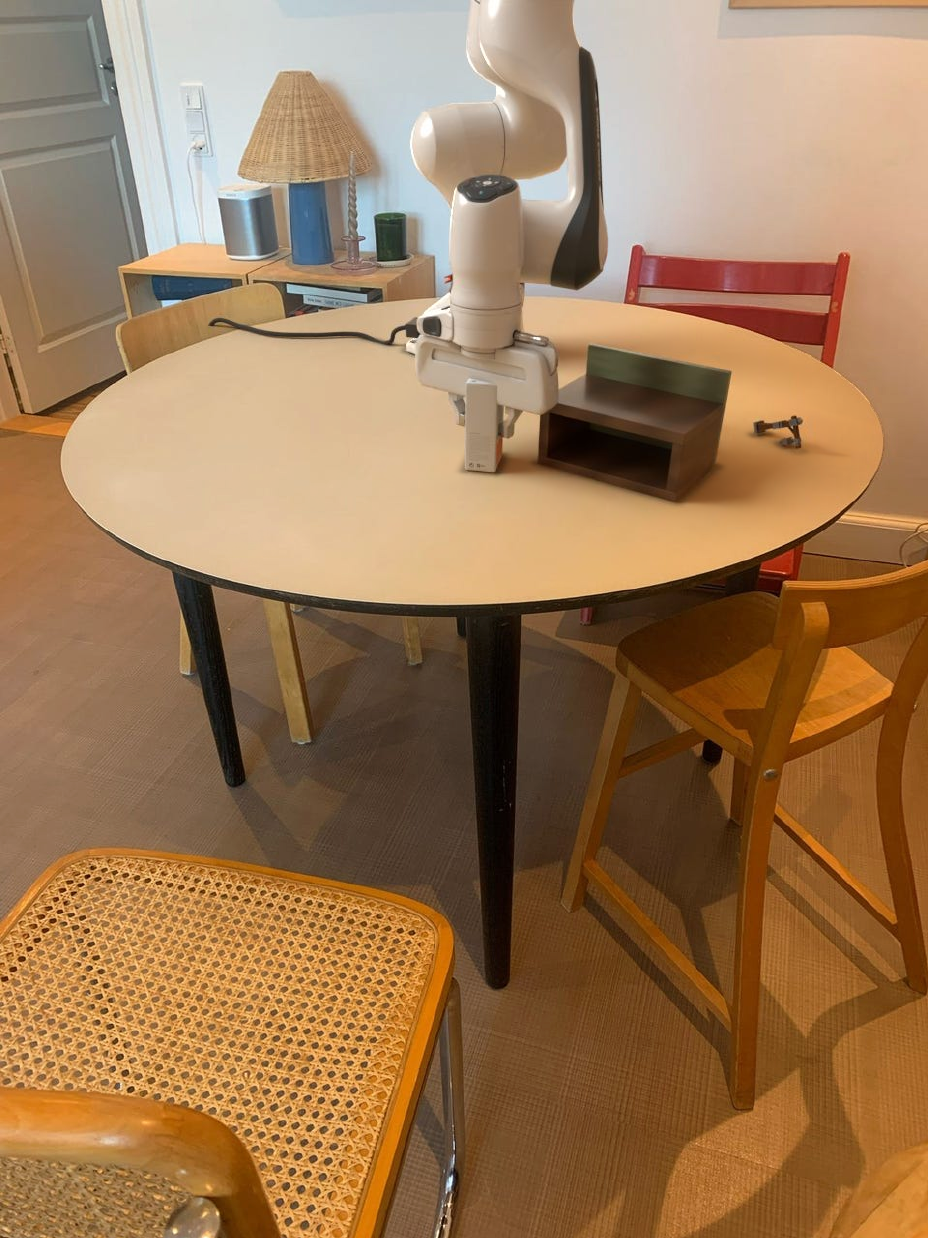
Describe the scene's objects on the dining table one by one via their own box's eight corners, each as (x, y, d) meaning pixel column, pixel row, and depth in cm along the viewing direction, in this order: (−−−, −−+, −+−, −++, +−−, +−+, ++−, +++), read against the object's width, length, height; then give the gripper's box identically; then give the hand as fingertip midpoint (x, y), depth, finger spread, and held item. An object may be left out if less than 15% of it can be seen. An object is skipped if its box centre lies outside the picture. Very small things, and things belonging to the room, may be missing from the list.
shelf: (537, 463, 117) (542, 368, 110) (584, 432, 126) (591, 342, 119) (675, 502, 108) (690, 401, 100) (715, 465, 116) (732, 370, 109)
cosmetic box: (495, 473, 115) (497, 385, 108) (464, 470, 115) (464, 382, 109) (503, 454, 120) (505, 369, 113) (473, 452, 120) (473, 367, 113)
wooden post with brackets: (800, 449, 119) (796, 415, 117) (756, 452, 126) (753, 420, 125) (809, 446, 119) (806, 413, 118) (765, 449, 126) (762, 418, 125)
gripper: (572, 332, 104) (564, 440, 112) (435, 305, 114) (438, 407, 122) (544, 345, 100) (539, 457, 108) (406, 317, 110) (410, 421, 118)
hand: (484, 430), depth 115 cm, fingers closed on cosmetic box, 5 cm apart
